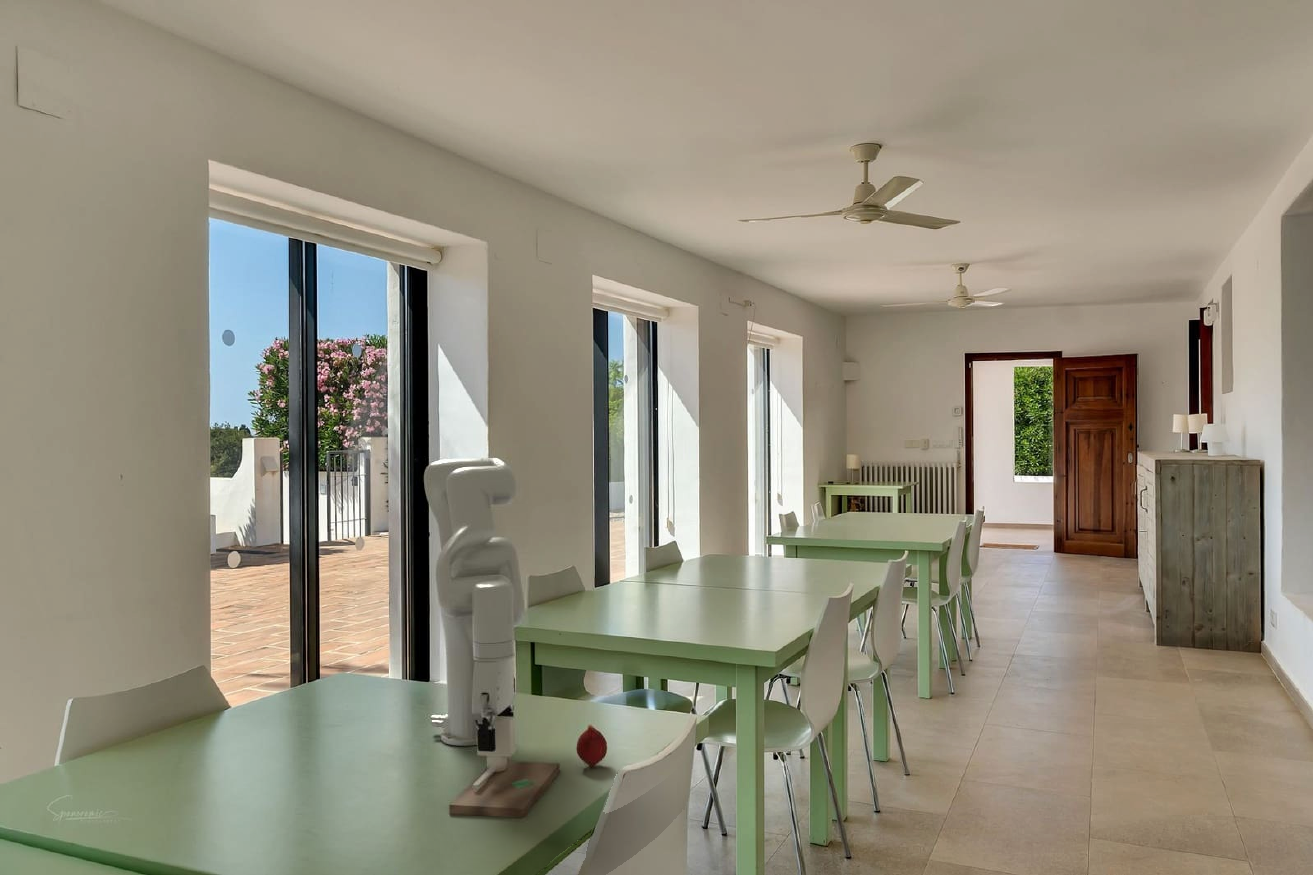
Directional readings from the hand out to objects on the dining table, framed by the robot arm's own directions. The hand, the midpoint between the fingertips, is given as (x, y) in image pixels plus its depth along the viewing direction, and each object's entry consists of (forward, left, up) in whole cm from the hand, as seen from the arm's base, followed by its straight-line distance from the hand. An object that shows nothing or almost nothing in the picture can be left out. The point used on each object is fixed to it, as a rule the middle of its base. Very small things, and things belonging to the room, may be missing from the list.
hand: (496, 741), depth 168 cm
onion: (+16, +8, -7) cm, 19 cm away
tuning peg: (0, -4, -5) cm, 7 cm away
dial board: (+4, -5, -7) cm, 10 cm away
